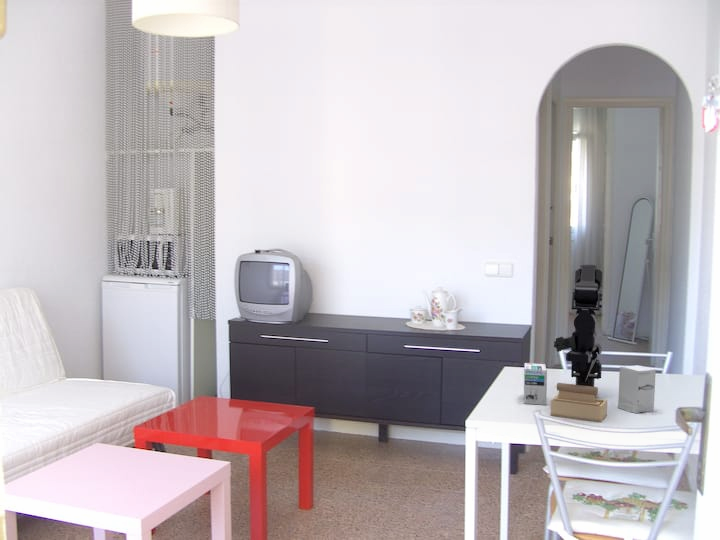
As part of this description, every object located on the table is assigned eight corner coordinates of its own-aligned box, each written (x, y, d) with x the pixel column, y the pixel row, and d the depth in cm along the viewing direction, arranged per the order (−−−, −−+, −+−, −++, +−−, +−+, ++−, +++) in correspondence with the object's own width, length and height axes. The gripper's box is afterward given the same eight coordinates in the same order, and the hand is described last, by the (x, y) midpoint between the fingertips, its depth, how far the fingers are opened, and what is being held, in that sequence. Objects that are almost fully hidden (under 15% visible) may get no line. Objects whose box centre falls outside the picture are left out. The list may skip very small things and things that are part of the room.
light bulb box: (546, 405, 229) (547, 370, 229) (523, 404, 231) (524, 368, 230) (545, 397, 240) (546, 363, 239) (523, 396, 241) (524, 362, 240)
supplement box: (635, 413, 221) (637, 370, 220) (617, 407, 228) (618, 366, 227) (654, 411, 224) (656, 369, 223) (636, 405, 230) (637, 364, 230)
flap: (555, 397, 219) (555, 381, 219) (600, 403, 213) (601, 386, 213) (553, 399, 217) (553, 383, 216) (598, 405, 211) (599, 388, 210)
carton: (558, 409, 225) (558, 394, 225) (606, 415, 218) (607, 400, 218) (550, 415, 218) (550, 399, 217) (600, 422, 211) (601, 406, 211)
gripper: (565, 322, 232) (563, 372, 233) (548, 330, 216) (547, 384, 217) (602, 325, 227) (600, 377, 228) (588, 333, 211) (586, 389, 212)
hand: (583, 381), depth 221 cm, fingers closed
